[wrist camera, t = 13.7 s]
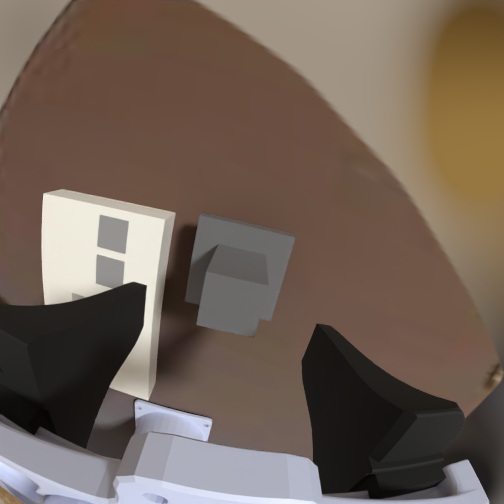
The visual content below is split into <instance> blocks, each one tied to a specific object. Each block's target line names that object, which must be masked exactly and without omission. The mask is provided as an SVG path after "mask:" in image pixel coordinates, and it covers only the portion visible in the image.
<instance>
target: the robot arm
mask: <svg viewBox="0 0 504 504" xmlns="http://www.w3.org/2000/svg"><path fill="white" fill-rule="evenodd" d="M146 291H147V285H144V284H141V283H137V282H130V283H127V284H124V285H121V286H118V287H116V288H113V289H110V290H107V291H105V292H102V293H99V294H96V295H92V296H89V297H86V298H83V299H79V300H75V301H70V302H65V303H59V304H50V305H40V306H16V305H5V304H0V486H1V487H2V488H4V489H5V490H6V491H8V492H9V493H10V494H12V495H13V496H14V497H16V498H17V499H19V500H20V501H21V502H23V503H24V504H489V500H488V498H487V496H486V494H485V492H484V490H483V488H482V486H481V484H480V482H479V480H478V478H477V476H476V474H475V472H474V470H473V468H472V466H471V464H470V463H469V461H468V460H464V461H460V462H457V463H454V464H450V465H448V466H446V467H445V468H443V469H442V467H441V465H440V462H442V461H443V459H444V457H443V456H442V453H441V452H442V451H443V450H444V449H445V448H446V447H447V445H448V444H449V443H450V442H451V441H452V440H453V439H454V438H455V436H456V435H457V434H458V433H459V431H460V430H461V427H462V426H463V423H464V419H465V417H464V414H463V412H462V411H461V409H460V408H459V406H458V405H457V403H456V402H453V401H449V400H446V399H443V398H439V397H436V396H433V395H430V394H428V393H425V392H423V391H420V390H418V389H416V388H414V387H411V386H409V385H408V384H406V383H404V382H402V381H400V380H398V379H396V378H395V377H393V376H391V375H390V374H388V373H387V372H385V371H384V370H382V369H381V368H380V367H378V366H377V365H375V364H374V363H373V362H372V361H370V360H369V359H368V358H367V357H365V356H364V355H363V354H362V353H361V352H360V351H359V350H357V349H356V348H355V347H354V346H353V345H352V344H351V343H350V342H349V341H347V340H346V339H345V338H344V337H343V336H342V335H341V334H340V333H339V332H338V331H336V330H335V329H334V328H333V327H331V326H329V325H323V324H316V327H315V329H314V332H313V335H312V337H311V340H310V342H309V345H308V347H307V349H306V352H305V354H304V357H303V359H302V379H303V385H304V390H305V395H306V400H307V405H308V410H309V415H310V420H311V427H312V439H313V462H311V461H310V460H309V459H308V458H306V457H303V456H298V455H294V454H289V453H285V452H274V451H264V450H255V449H248V448H241V447H234V446H228V445H222V444H217V443H211V442H207V440H208V437H209V433H210V429H211V425H212V420H211V419H210V418H208V417H203V416H198V415H194V414H190V413H186V412H182V411H178V410H174V409H170V408H166V407H163V406H159V405H156V404H152V403H149V402H146V401H142V400H139V399H138V400H136V401H135V424H136V430H135V432H134V435H133V436H132V437H131V439H130V441H129V443H128V445H127V448H126V450H125V453H124V455H123V458H122V460H120V459H115V458H110V457H105V456H101V455H99V454H96V453H94V452H91V451H89V450H87V449H86V446H87V442H88V439H89V436H90V433H91V430H92V427H93V425H94V422H95V419H96V417H97V414H98V411H99V409H100V406H101V404H102V402H103V399H104V397H105V395H106V393H107V390H108V388H109V386H110V384H111V382H112V381H113V379H114V377H115V376H116V374H117V373H118V371H119V369H120V368H121V366H122V365H123V363H124V362H125V360H126V358H127V357H128V355H129V354H130V352H131V351H132V349H133V348H134V346H135V344H136V342H137V340H138V338H139V336H140V334H141V331H142V329H143V327H144V315H145V302H146Z"/></svg>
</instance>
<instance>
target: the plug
mask: <svg viewBox="0 0 504 504" xmlns="http://www.w3.org/2000/svg"><path fill="white" fill-rule="evenodd" d="M294 241H295V236H294V234H293V233H289V232H285V231H281V230H277V229H272V228H268V227H264V226H260V225H256V224H251V223H247V222H243V221H239V220H234V219H230V218H226V217H221V216H217V215H212V214H208V213H202V214H201V215H200V217H199V222H198V227H197V232H196V238H195V243H194V248H193V254H192V259H191V265H190V271H189V277H188V283H187V289H186V295H185V302H189V303H193V304H197V305H200V307H199V313H198V318H197V324H196V325H199V326H203V327H207V328H212V329H216V330H221V331H225V332H230V333H234V334H239V335H244V336H248V337H253V338H254V335H255V332H256V329H257V325H258V322H259V319H264V320H269V321H271V318H272V315H273V312H274V308H275V305H276V302H277V299H278V295H279V292H280V289H281V285H282V282H283V279H284V275H285V272H286V268H287V265H288V262H289V258H290V255H291V251H292V248H293V244H294Z"/></svg>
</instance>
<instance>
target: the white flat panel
mask: <svg viewBox="0 0 504 504" xmlns="http://www.w3.org/2000/svg"><path fill="white" fill-rule="evenodd" d="M174 219H175V213H174V212H170V211H165V210H161V209H156V208H151V207H147V206H142V205H137V204H132V203H128V202H123V201H118V200H113V199H108V198H104V197H99V196H94V195H89V194H84V193H79V192H74V191H69V190H64V189H61V190H57V191H52V192H48V193H44V196H43V211H42V273H43V288H44V300H45V305H50V304H59V303H65V302H70V301H75V300H79V299H83V298H86V297H89V296H92V295H96V294H99V293H102V292H105V291H107V290H110V289H113V288H116V287H118V286H121V285H124V284H127V283H130V282H137V283H141V284H144V285H147V291H146V302H145V315H144V327H143V329H142V331H141V334H140V336H139V338H138V340H137V342H136V344H135V346H134V348H133V349H132V351H131V352H130V354H129V355H128V357H127V358H126V360H125V362H124V363H123V365H122V366H121V368H120V369H119V371H118V373H117V374H116V376H115V377H114V379H113V381H112V382H111V384H110V386H109V387H110V388H112V389H115V390H118V391H121V392H124V393H127V394H130V395H133V396H136V397H139V398H142V399H145V400H149V397H150V395H151V393H152V390H153V388H154V385H155V383H156V368H157V354H158V342H159V331H160V320H161V311H162V302H163V293H164V285H165V278H166V270H167V263H168V256H169V250H170V243H171V237H172V231H173V225H174Z"/></svg>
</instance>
